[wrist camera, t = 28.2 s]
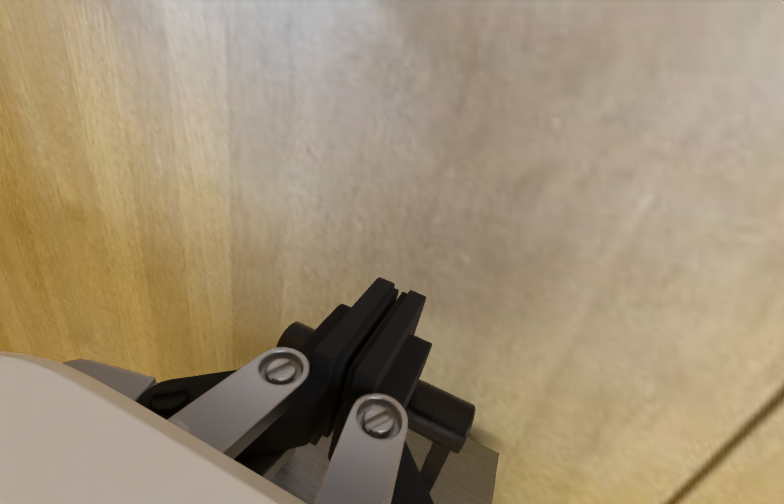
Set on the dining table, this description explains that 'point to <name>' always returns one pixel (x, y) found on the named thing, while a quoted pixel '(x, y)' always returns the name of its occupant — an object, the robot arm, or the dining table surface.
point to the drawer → (425, 441)
